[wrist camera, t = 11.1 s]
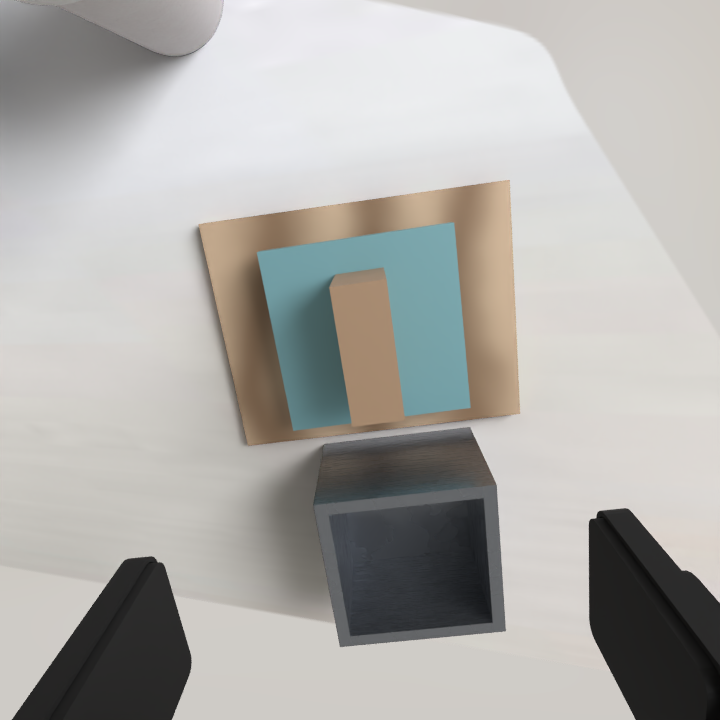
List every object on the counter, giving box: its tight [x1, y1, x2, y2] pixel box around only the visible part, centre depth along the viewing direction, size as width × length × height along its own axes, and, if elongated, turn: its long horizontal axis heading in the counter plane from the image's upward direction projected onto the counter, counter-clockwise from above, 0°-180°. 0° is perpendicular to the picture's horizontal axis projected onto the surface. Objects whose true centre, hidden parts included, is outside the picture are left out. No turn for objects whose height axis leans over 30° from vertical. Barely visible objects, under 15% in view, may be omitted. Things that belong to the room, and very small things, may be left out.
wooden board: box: [199, 180, 520, 446], centre depth 35 cm, size 20×16×1 cm
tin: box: [313, 427, 506, 647], centre depth 35 cm, size 11×11×8 cm
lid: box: [257, 222, 471, 431], centre depth 31 cm, size 12×12×8 cm
